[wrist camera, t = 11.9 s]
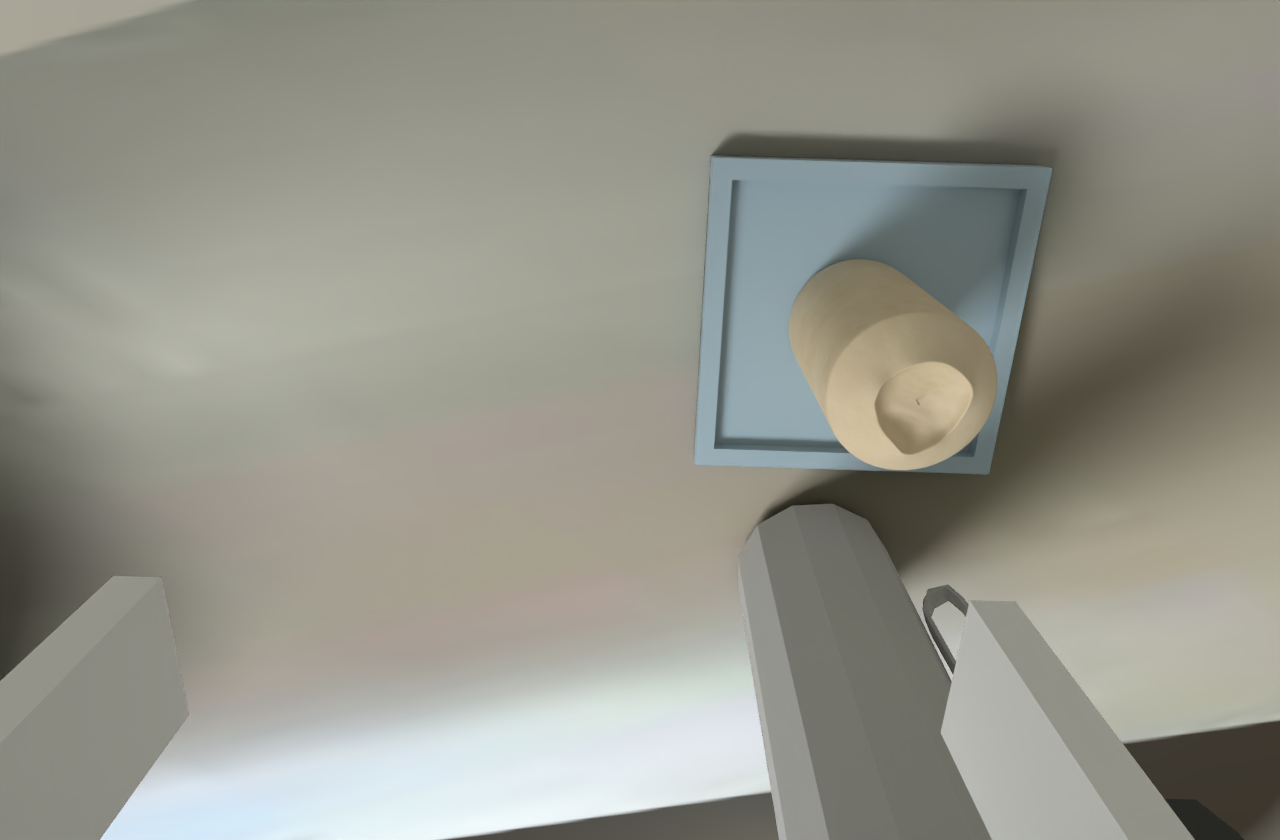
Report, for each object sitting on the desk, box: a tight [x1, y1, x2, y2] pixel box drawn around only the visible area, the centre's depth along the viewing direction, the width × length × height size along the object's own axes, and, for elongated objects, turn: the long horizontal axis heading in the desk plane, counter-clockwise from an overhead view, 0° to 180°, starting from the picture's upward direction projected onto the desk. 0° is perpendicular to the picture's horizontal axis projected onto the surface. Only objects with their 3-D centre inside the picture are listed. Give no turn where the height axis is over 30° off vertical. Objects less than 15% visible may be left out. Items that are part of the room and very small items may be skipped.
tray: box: [694, 155, 1053, 474], centre depth 35 cm, size 13×13×1 cm
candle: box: [789, 259, 998, 470], centre depth 30 cm, size 6×6×10 cm
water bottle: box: [738, 504, 992, 840], centre depth 28 cm, size 9×8×25 cm
